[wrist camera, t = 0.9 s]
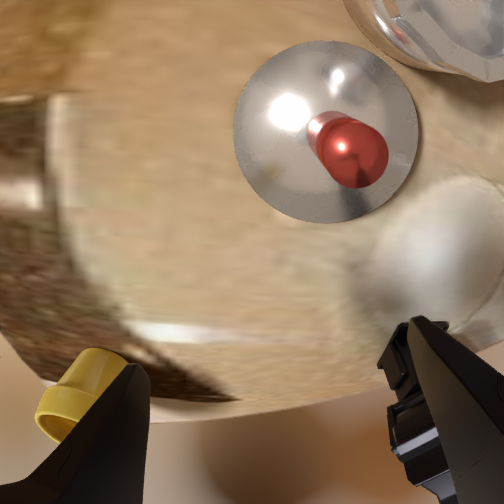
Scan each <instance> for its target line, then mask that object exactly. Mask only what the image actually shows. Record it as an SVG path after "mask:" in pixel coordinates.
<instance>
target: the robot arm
mask: <svg viewBox="0 0 504 504" xmlns="http://www.w3.org/2000/svg"><path fill="white" fill-rule="evenodd" d="M448 327H449V325H448V324H447V322H438V323H433V322H431V321H430V320H429V319H427V318H426V317H424V316H422V315H419V316H415V317H412V318H411V319H410V321H409V324H400V325H399V326H398V327H397V328H396V330H395V332H394V334H393V336H392V338H391V340H390V342H389V343H388V345H387V347H386V349H385V351H384V353H383V354H382V356H381V358H380V360H379V361H378V363H377V367H378V369H384V372H385V374H386V377H387V380H388V383H389V386H390V389H391V390H395V392H396V396H397V399H398V402H397V403H396V404H394V405H390V406H389V407H387V413H388V415H387V419H388V427H389V436H390V445H391V451H392V452H393V453H395V454H396V456H397V458H398V459H399V460H400V461H401V462H402V463H404V467H405V471H406V475H407V479H408V480H409V481H410V482H411V483H412V484H413V485H414V486H416V487H417V486H420V485H421V486H423V487H424V488H426V489H427V490H429V491H430V492H432V493H433V494H435V495H436V496H437V497H438V500H439V503H440V504H504V376H503V375H502V374H501V373H499V372H497V370H495V369H494V368H493V367H492V366H490V365H489V364H488V363H486V362H485V361H484V360H482V359H481V358H480V357H479V356H477V355H476V354H475V353H473V352H472V351H471V350H469V349H468V348H467V347H465V346H464V345H463V344H461V343H460V342H459V341H457V340H456V339H455V338H453V337H452V336H450V335H449V334H448V333H446V331H447V329H448ZM149 422H150V379H149V376H148V375H147V374H146V372H145V371H144V369H143V368H142V367H141V365H140V364H138V363H130V364H127V365H126V366H125V367H124V368H123V370H122V371H121V372H120V373H119V374H118V375H117V377H116V378H115V379H114V380H113V381H112V382H111V384H110V385H109V386H108V387H107V388H106V390H105V391H104V392H103V393H102V394H101V395H100V397H99V398H98V399H97V400H96V401H95V403H94V404H93V405H92V406H91V407H90V409H89V410H88V411H87V412H86V413H85V415H84V416H83V417H82V418H81V419H80V421H79V422H78V423H77V424H76V425H75V427H74V428H73V429H72V430H71V431H70V433H69V434H68V435H67V436H66V437H65V439H64V440H63V441H62V442H61V443H60V444H59V445H58V447H57V448H56V449H55V450H54V451H53V452H52V453H51V454H50V455H49V457H47V459H45V460H44V461H43V462H42V463H41V464H40V465H39V466H38V467H37V468H36V469H35V471H33V473H31V474H30V475H29V476H28V477H26V478H25V479H23V480H21V481H18V482H14V483H10V484H4V485H0V504H142V502H143V487H144V473H145V461H146V451H147V441H148V432H149Z"/></svg>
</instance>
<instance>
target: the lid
mask: <svg viewBox="0 0 504 504" xmlns="http://www.w3.org/2000/svg"><path fill="white" fill-rule="evenodd" d="M233 140H234V148H235V152H236V156H237V160H238V163H239V165H240V168H241V170H242V172H243V174H244V176H245V178H246V179H247V181H248V183H249V184H250V185H251V187H252V188H253V189H254V191H255V192H256V193H257V194H258V195H259V196H260V197H261V198H262V199H263V200H264V201H265V202H267V203H268V204H269V205H271V206H272V207H273V208H275V209H276V210H278V211H280V212H282V213H283V214H286V215H288V216H290V217H293V218H295V219H299V220H302V221H306V222H313V223H339V222H344V221H349V220H352V219H355V218H358V217H361V216H363V215H365V214H367V213H370V212H371V211H373V210H375V209H376V208H378V207H379V206H381V205H382V204H383V203H384V202H386V201H387V200H388V199H389V198H390V197H391V196H392V195H393V194H394V193H395V192H396V191H397V190H398V188H399V187H400V186H401V184H402V183H403V181H404V180H405V178H406V177H407V175H408V173H409V171H410V168H411V166H412V164H413V161H414V158H415V154H416V149H417V144H418V121H417V115H416V110H415V107H414V104H413V101H412V98H411V96H410V94H409V92H408V90H407V88H406V86H405V84H404V83H403V82H402V80H401V79H400V77H399V76H398V75H397V74H396V73H395V71H394V70H393V69H392V68H391V67H390V66H389V65H388V64H386V63H385V62H384V61H383V60H382V59H380V58H379V57H377V56H376V55H374V54H373V53H371V52H369V51H367V50H365V49H363V48H360V47H358V46H355V45H351V44H348V43H343V42H337V41H314V42H307V43H303V44H299V45H296V46H293V47H291V48H288V49H286V50H284V51H282V52H280V53H279V54H277V55H275V56H274V57H272V58H270V59H269V60H268V61H267V62H266V63H264V64H263V65H262V66H261V67H260V68H259V69H258V70H257V71H256V72H255V73H254V74H253V76H252V77H251V78H250V80H249V81H248V83H247V84H246V86H245V88H244V90H243V92H242V94H241V96H240V98H239V102H238V105H237V108H236V111H235V117H234V124H233Z"/></svg>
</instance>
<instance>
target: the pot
mask: <svg viewBox="0 0 504 504" xmlns="http://www.w3.org/2000/svg"><path fill="white" fill-rule="evenodd" d="M343 2H344V4H345V6H346V9H347V10H348V12H349V14H350V16H351V18H352V19H353V21H354V22H355V23H356V25H357V26H358V28H359V29H360V30H361V31H362V32H363V34H364V35H365V36H366V37H367V38H368V39H369V40H370V41H371V42H372V43H373V44H374V45H375V46H376V47H378V48H379V49H380V50H381V51H382V52H384V53H385V54H387V55H388V56H390V57H391V58H393V59H395V60H397V61H399V62H400V63H403V64H405V65H408V66H410V67H413V68H417V69H421V70H428V71H438V72H446V73H453V74H460V75H465V76H467V77H469V78H471V79H473V80H477V81H482V82H487V83H490V82H494V81H499V80H503V79H504V0H343Z"/></svg>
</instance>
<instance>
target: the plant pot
mask: <svg viewBox="0 0 504 504" xmlns="http://www.w3.org/2000/svg"><path fill="white" fill-rule="evenodd" d="M127 364H129V363H128V362H127V361H126V360H125V359H124V358H122V357H121V356H119V355H118V354H116V353H114V352H112V351H109V350H106V349H102V348H94V347H93V348H88V349H85V350H84V351H82V352H81V354H80V355H79V356H78V357H77V359H76V360H75V361H74V363H73V364H72V365H71V366H70V368H69V369H68V370H67V372H66V373H65V374H64V375H63V377H62V378H61V379H60V381H59V382H58V383H57V384H56V385H55V386H51V387H49V388H48V389H47V390H46V391H45V393H44V395H43V397H42V399H41V401H40V403H39V406H38V408H37V411H36V413H35V421H36V423H37V425H38V426H39V427H40V429H41V430H42V431H43V432H44V433H45V434H47V435H48V436H49V437H50V438H52V439H53V440H54V441H56V442H57V443H59V444H60V443H61V442H62V441H63V440H64V439H65V437H66V436H67V435H68V434H69V433H70V431H71V430H72V429H73V428H74V427H75V425H76V424H77V423H78V422H79V421H80V419H81V418H82V417H83V416H84V415H85V413H86V412H87V411H88V410H89V409H90V407H91V406H92V405H93V404H94V403H95V401H96V400H97V399H98V398H99V397H100V395H101V394H102V393H103V392H104V391H105V390H106V388H107V387H108V386H109V385H110V384H111V382H112V381H113V380H114V379H115V378H116V377H117V375H118V374H119V373H120V372H121V371H122V370H123V368H124V367H125V366H126V365H127Z"/></svg>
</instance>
